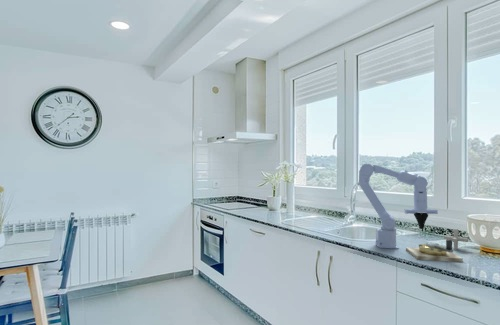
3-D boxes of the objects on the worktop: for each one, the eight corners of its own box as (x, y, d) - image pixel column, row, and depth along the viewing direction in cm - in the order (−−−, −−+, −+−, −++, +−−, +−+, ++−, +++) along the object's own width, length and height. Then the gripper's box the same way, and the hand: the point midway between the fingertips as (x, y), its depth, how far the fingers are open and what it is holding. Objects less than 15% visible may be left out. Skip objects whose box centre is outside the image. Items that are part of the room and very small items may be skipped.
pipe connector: (445, 245, 163) (445, 226, 164) (468, 248, 157) (468, 228, 157) (442, 249, 156) (442, 228, 156) (466, 252, 149) (466, 231, 150)
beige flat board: (417, 259, 137) (417, 255, 137) (405, 250, 153) (405, 246, 153) (462, 262, 134) (462, 258, 134) (446, 252, 150) (446, 248, 150)
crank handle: (413, 249, 148) (413, 233, 148) (432, 248, 150) (432, 232, 150) (440, 259, 132) (440, 241, 133) (461, 257, 135) (461, 240, 135)
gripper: (407, 201, 152) (408, 229, 152) (439, 201, 150) (440, 230, 149) (402, 200, 159) (403, 227, 159) (434, 200, 157) (434, 227, 156)
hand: (421, 228), depth 155 cm, fingers closed
